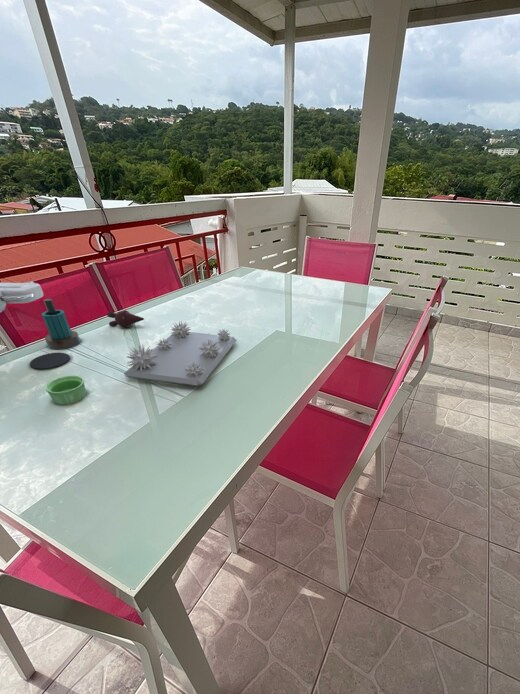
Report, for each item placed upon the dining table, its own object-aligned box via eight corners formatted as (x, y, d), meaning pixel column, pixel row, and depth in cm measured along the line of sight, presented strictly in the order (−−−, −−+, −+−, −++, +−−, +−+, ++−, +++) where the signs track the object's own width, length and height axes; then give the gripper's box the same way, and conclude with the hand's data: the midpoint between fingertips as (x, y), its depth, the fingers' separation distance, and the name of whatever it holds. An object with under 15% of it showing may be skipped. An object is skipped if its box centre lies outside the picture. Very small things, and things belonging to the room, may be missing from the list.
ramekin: (66, 386, 97) (60, 373, 94) (95, 389, 96) (90, 377, 94) (43, 404, 90) (37, 390, 87) (74, 407, 89) (69, 394, 87)
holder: (42, 349, 115) (22, 304, 106) (56, 337, 123) (39, 294, 114) (73, 349, 116) (56, 305, 107) (85, 337, 124) (70, 295, 115)
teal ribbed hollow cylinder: (47, 339, 115) (37, 316, 110) (56, 332, 120) (47, 309, 115) (66, 339, 116) (58, 316, 111) (75, 332, 121) (67, 309, 116)
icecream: (146, 309, 135) (111, 309, 136) (137, 310, 128) (100, 311, 129) (149, 326, 137) (115, 326, 138) (140, 328, 130) (104, 329, 131)
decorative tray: (201, 391, 99) (197, 362, 93) (121, 380, 101) (112, 351, 96) (237, 343, 127) (236, 318, 122) (174, 335, 130) (170, 311, 124)
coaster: (22, 370, 103) (22, 368, 103) (41, 354, 112) (40, 352, 112) (60, 369, 105) (60, 368, 104) (76, 354, 114) (75, 352, 113)
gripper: (21, 287, 84) (49, 273, 95) (-70, 285, 81) (-30, 271, 93) (31, 311, 87) (57, 295, 99) (-55, 310, 85) (-19, 294, 96)
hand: (14, 283), depth 96 cm, fingers open, 8 cm apart
